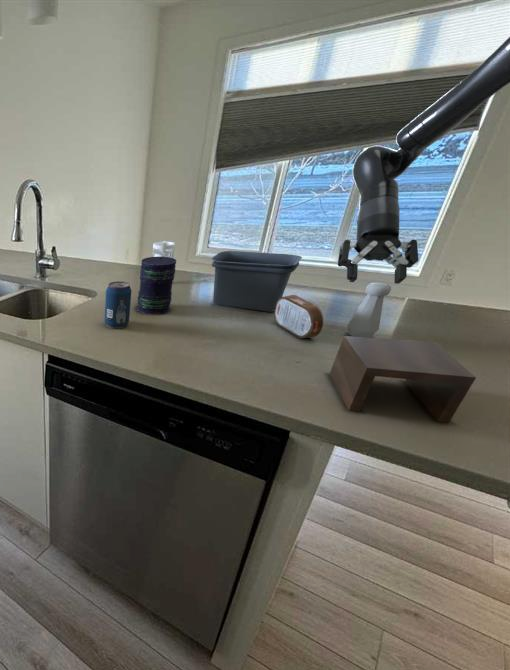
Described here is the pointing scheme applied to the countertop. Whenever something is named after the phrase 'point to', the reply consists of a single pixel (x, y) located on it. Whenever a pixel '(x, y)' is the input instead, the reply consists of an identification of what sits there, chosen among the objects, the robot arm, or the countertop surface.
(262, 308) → the storage bin
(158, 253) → the strainer
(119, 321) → the soda can
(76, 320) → the countertop surface
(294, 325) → the tin
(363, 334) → the salt shaker
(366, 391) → the shelf
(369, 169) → the robot arm
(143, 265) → the storage jar
